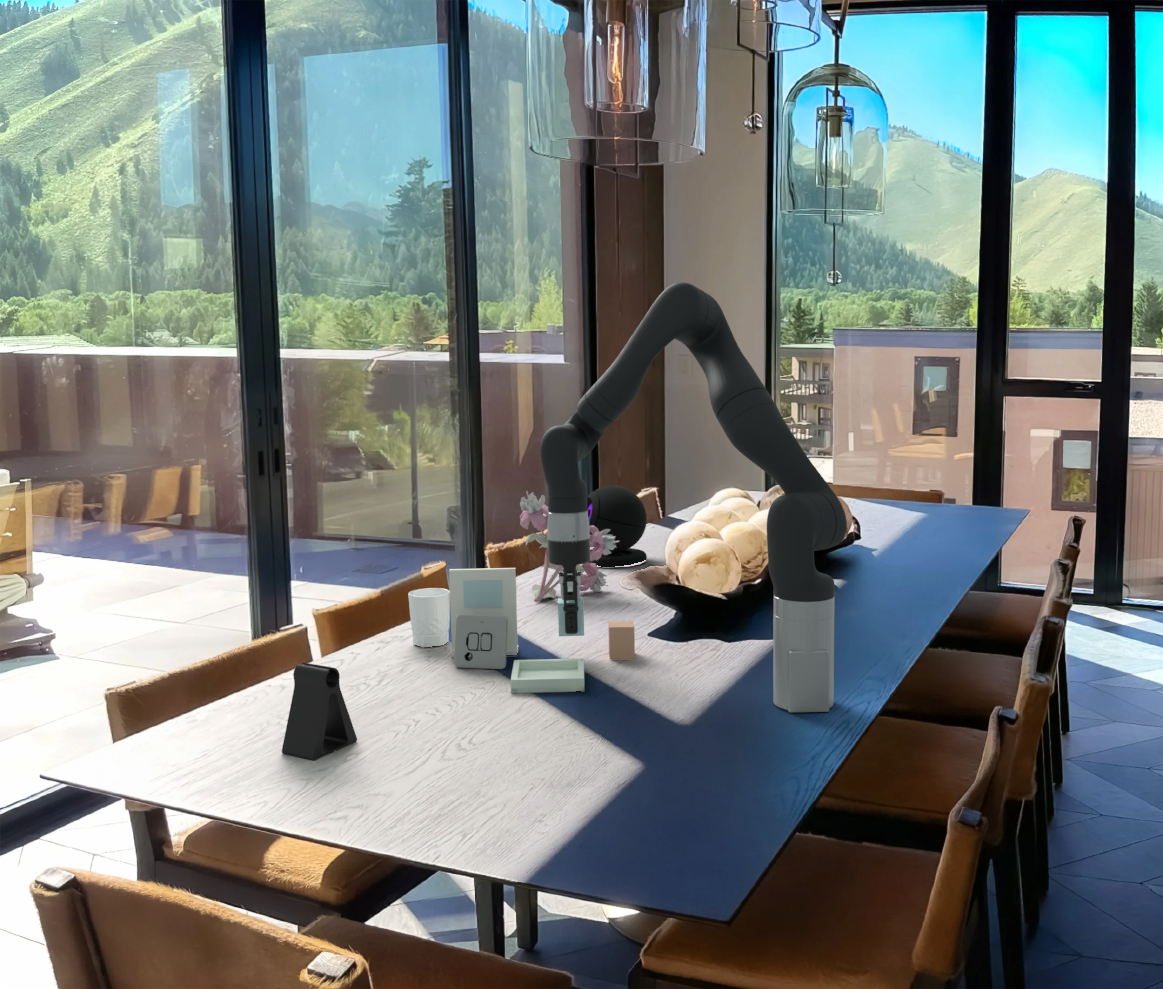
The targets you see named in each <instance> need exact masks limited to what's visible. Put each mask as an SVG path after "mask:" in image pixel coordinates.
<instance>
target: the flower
mask: <svg viewBox="0 0 1163 989" xmlns="http://www.w3.org/2000/svg"><path fill="white" fill-rule="evenodd" d="M525 492H526V495H527V498H526V496H522V497H520V502H519V506H520V509H521V511H522V512H521V513H520V515H519V519H520V522H519V525H520V526H521V527H522V528H523V529H525V530H527V531H528V530H529V526H530V522H531V524H532V526H533V527H534V528H535V529H536V530H537V531H539V532H541V533H537V532H533V533H531V534H529V535H528V536H527V538H526V539H525V546H527V545H528V543H532V542H534V541H536V542H537V543H539V544H540V546H539V548H538V550H539V549H541V548H544V549H545V552H544V553H545V556H544V563H543V565H542V566H541V568H543V573H542V579H541V583H540V584H537V583H534V584H532V586H531V592H532V594H533V596H535V599H534V600H533V601H534V603H535V602H537V603H539V602H541V600H542V599H547V598H548V599H552V600H553V599H556V596H557V590H556V589H554V588H556V587H557V586H558V584H559V579H558V580H557V581H556V582H555V583H554V581H555V580H556V578H557V577H558V576H559V572H562V570H563V566H562V565H554V564H551V563H550V562H549V560H548V532H546V533H544V531H545V530H547V522H548V512H549V511H548V505H546V504H545V502H546V496H545V495H544V494H541V496H540V498H539V499H538V498H537V496H536V495H535V493H534V491H532V492H531V493H529V491H528V490H526V491H525ZM589 531H590V532H591V533H592V534H593V535H591V534H590V548H592V551H591V552H590V561H593V560H598V559H599V558H601V555H602V553H603V554H604V555H608V554H611V552H610V551H609V549H610V550H613V549H614V548H617V547H616V545H617V544H616V545H613V544H615V543H617V542H619V541H615V540H614V539H616V538H615V537H616V536H613V535H610V534H609V535H606V534H607V533H608V532H609V531H610V529H605V530H602V531H601V532H599V530H598V528H596V527H595V526H594V525H592V526H589ZM609 539H611V540H609ZM549 569H550V570H551V569H552V570H554V573H553V574H552V575H551V577H550V579H549V580H548V581H547V577H548V571H549ZM576 570H577V571H581V583H580V592H585V591H588V590H591V591H594V592H595V593H600V592H602V591H603V588H602V587H604V586H605V587H609V584H607V583H608V582H607V578H604V577H608V575H607V574H605V573H603V572H602V571H599V568H598V567H597V565H596V564H595V563H588V562H587V563H585V564H578V565H577V566H576ZM584 572H585V574H584ZM553 583H554V584H553Z"/></svg>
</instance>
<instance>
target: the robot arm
mask: <svg viewBox="0 0 1163 989" xmlns="http://www.w3.org/2000/svg"><path fill="white" fill-rule="evenodd" d="M674 340H676V341H678V342H681V343H682V344H683V345H684V346H685V347H686V348H687V350H689V352H690V353H691V354H692V356H693V357H694V358H695V360H696V361H697V363H698V365H699V366H700V367H701V369H702V371H703V373H704V375H705V378H706V383H707V387H708V395H709V400H710V406H711V407H712V408H711V409H712V411H713V414H714V416H715V418H716V419H717V421H718V423H719V424H720V426H721V429H722V431H723V432H724V434H725V436H726V437H727V439H728V440H729V441H730V443H731V445H733V447H734V448H735V449H736V450H737V451H738V452H739V453H740V454H742V455H743V456H744V457H745V458H747V459H748V460H749V461H750V462H752V464H754V465H756V466H757V467H759V468H760V470H762V471H764V472H765V473H766V474H767V475H769V477H771V478H772V479H773V480H774V481H775V482H776V484H777V485H778V486H779V487H780V488H781V490H782V492H783V493H784V494H781V495H780V496H778V497H776V498H775V499H774V500H773V502H772V503H771V504H770V506H769V509H768V513H767V520H766V542H767V544H766V545H767V564H768V572H769V577H770V580H771V584H772V586H773V621H772V622H773V623H772V624H773V625H772V627H773V628H772V629H773V631H772V632H773V633H772V634H773V647H772V648H773V652H772V654H773V664H772V665H773V668H772V669H773V670H772V672H773V676H772V678H773V679H772V680H773V684H772V685H773V688H772V689H773V700H772V702H773V704H774V705H775V706H776V707H778V708H780V709H783V710H785V711H787V712H788V713H820V712H821V713H823V712H825V713H827V712H828V713H829V712H830V709H831V708H832V707H833V706H834V694H835V693H834V690H835V689H834V688H835V687H834V685H835V683H834V682H835V679H834V675H835V674H834V673H835V671H834V670H835V664H834V663H835V595H836V594H835V580H834V579H833V577H832V576H830V575H829V574H826V573H823V572H820V571H818V570H817V568H816V565H815V551H821V550H822V551H823V550H827V549H832V548H834V547H836V546H838V545H839V544H841V542H843V540H844V539H845V536H846V534H847V528H848V522H847V516H846V512H845V509H844V507H843V505H842V503H841V501H840V499H839V498H838V496H837V495H836V493H835V492H834V490H833V489H832V488H831V486H830V485H829V484H828V483H827V481H826V480H825V479H824V478H823V475H821V474H820V472H819V470H818V469H817V468H816V467H815V466H814V464H813V462H812V461H811V460H810V458H809V457H808V456H807V454H806V452H805V451H804V450H803V448H802V446H801V445H800V442H798V440H797V438H796V437H795V435H794V434H793V432H792V430H791V429H790V427H789V426H788V424H787V422H786V421H785V419H784V417H783V415H782V414H781V412H780V410H779V408H778V407H777V405H776V403H775V401H774V400H773V398H772V396H771V394H770V393H769V391H768V390H767V389H768V388H766V386H765V385H764V384H763V382H762V380H761V379H760V377H759V376H758V374H757V372H756V371H755V369H754V368H753V367H752V364H750V362H749V360H748V359H747V358H746V357H745V355H744V353H743V352H742V350H741V349H740V347H739V344H738V343H737V341H736V339H735V336H734V334H733V332H732V329H731V327H730V325H729V323H728V321H727V319H726V316H725V314H724V311H723V309H722V307H721V305H719V302H718V301H717V300H716V299H715V298H714V297H713V296H712V295H710V294H709V293H707V292H705V291H703V290H702V289H700V288H699V287H697V286H695V285H693V284H691V283H688V282H685V281H682V282H681V281H680V282H679V281H678V282H676V283H674V282H673V283H672V284H670V285H669V286H667V287H666V288H665V289H664V290H663V291H662V292H661V293H659V295H658V297H657V298H656V299H655V301H654V302H653V303H652V305H651V306H650V308H649V309H648V311H647V312H646V313H645V316H644V317H643V318H642V320H641V321H640V323H639V325H638V326H637V327H636V329H635V330H634V332H633V333H632V334H631V336H630V338H629V339H628V341H627V342H626V344H625V345H624V347H623V348H622V350H621V351H620V353H619V354H618V355H617V357H616V358H615V359H614V361H613V362H612V364H611V365H610V366H609V367H608V368H607V369H606V370H605V371H604V372H603V373H602V375H601V376H600V377H599V378H598V379H597V381H596V382H594V384H593V385H592V386H591V387H590V388H589V389H588V390H587V391H586V392H585V393H584V395H583V396H582V397H581V399H579V401H578V403H577V405H576V410H575V412H574V413H573V414H572V415H571V417H570V418H569V419H568V420H567V421H565V423H564V424H560V425H553V426H552V427H550V428H548V430H546V431H545V432H544V434H543V435H542V439H541V442H540V460H541V464H542V465H541V466H542V470H543V475H544V479H545V482H546V486H547V507H548V511H549V512H548V522H547V529H546V530H547V532H548V560H549V562H550V563H551V564H554V565H562V566H563V570H562V572H559V574H558V580H559V583H558V584H559V585H560V598H561V599H562V600H563V601H564V607H563V611H564V613H565V632H566V633H567V634H576V633H577V632H578V624H577V613H578V611H579V607H578V600H579V599H580V598H581V591H580V583H581V571H577V570H576V566H577V565H578V564H579V565H583V564H585V563H587V562H589V561H590V550H591V547H590V531H589V518H588V511H587V497H588V490H587V484H586V481H585V480H583V479H582V478H581V476H580V468H579V462H580V461H582V460H583V459H584V458H586V457H587V456H588V455H589V454H590V453H591V452H592V451H593V449H594V448H595V446H597V445H598V443H599V441H600V440H601V439H602V437H603V436H604V434H605V433H606V431H607V429H608V428H610V426H612V425H613V423H615V422H616V421H617V420H618V418H619V417H620V416H621V415H622V414H623V413H624V412H625V411H626V410H627V409H628V407H629V406H630V405H631V404H632V403H633V402H634V400H636V397H637V396H638V394H639V392H640V390H641V387H642V386H643V383H644V381H645V378H646V375H647V373H648V370H649V369H650V367H651V365H652V363H653V362H654V360H655V359H656V358H657V356H658V355H659V354H660V352H661V351H662V350H663V349H664V348H666V346H668V345H669V344H670V343H671V342H673V341H674ZM547 532H546V533H547ZM567 600H574V601H575V605H566V601H567Z"/></svg>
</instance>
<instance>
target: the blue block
mask: <svg viewBox="0 0 1163 989" xmlns="http://www.w3.org/2000/svg"><path fill="white" fill-rule="evenodd" d="M566 605H575V601H574V600H567V601H566ZM563 607H564V601H563V600H562V599H561V597H560V598H559V597H558V598H557V609H558V610H557V614H558V615H557V617H558V619H557V620H558V637H575V636H576V637H580V636H581V637H583V636H585V620H584V618H585V617H584V616H585V615H584V611H585V610H584V597H581V596H580V599H579V600H578V607H579V611H578V613H577V624H578V632H577V633H576V634H567V633H566V632H565V613H564V611H563Z"/></svg>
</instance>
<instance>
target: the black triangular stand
mask: <svg viewBox="0 0 1163 989" xmlns="http://www.w3.org/2000/svg"><path fill="white" fill-rule="evenodd" d="M292 676H293V681H294V682H293V683H294V685H293V686H294V687H293V692H292V696H291V697H292V698H291V703H290V709H289V712H288V717H287V723H286V728H285V732H284V737H283V738H284V739H283V743H282V749H281V753H282V754H284V755H287V756H293V757H297V758H302V759H306V760H311V761H314V762H315V761H317V760H319V759H321V758H324V757H325V756H327V755H330V754H333V753H335V752H336V751H339V750H342V749H344V748H346V747H348V746H350V745H353V744H356V742H357V741H358V736H357V734H356V732H355V729H354V726H353V723H352V720H351V716H350V714H349V711H348V708H347V705H346V702H345V699H344V695H343V692H342V689H341V686H340V672H339V670H338V669H337V668H335V667H331V666H326V665H325V666H324V665H320V664H314V663H308V662H302V663H300V664H297V665H296V666H295V667H294V670H293V674H292Z"/></svg>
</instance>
